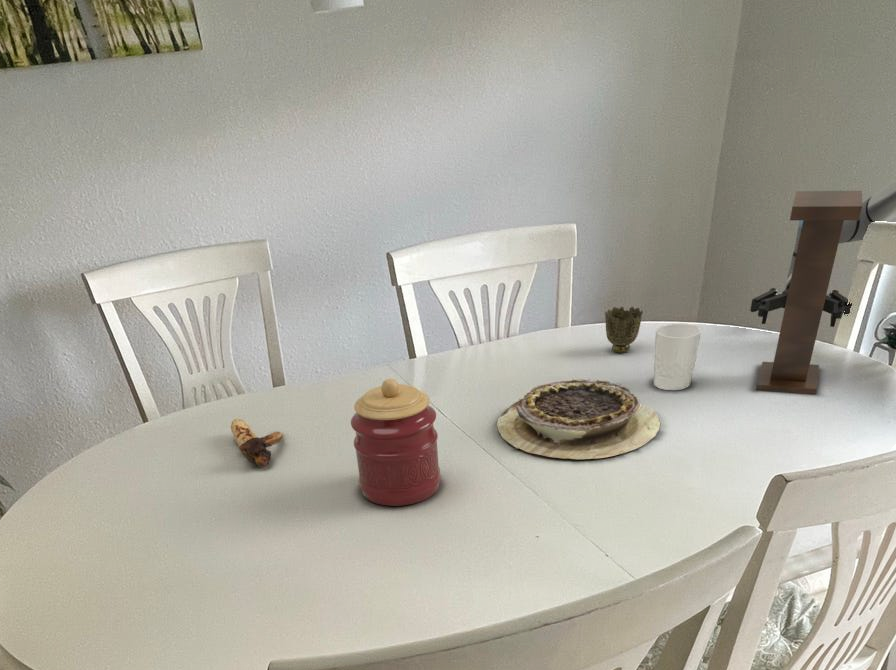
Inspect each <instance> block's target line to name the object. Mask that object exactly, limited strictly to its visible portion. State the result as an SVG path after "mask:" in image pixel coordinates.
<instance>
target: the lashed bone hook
mask: <svg viewBox="0 0 896 670" xmlns="http://www.w3.org/2000/svg"><path fill="white" fill-rule="evenodd" d="M230 431H231V433H232V435H233V438H234V440H235V442H236V444H237V445H238V449H239V451H241V452H242V453H243V454H244V455H245V456H246V457H247V459H248V460H250V461H251V462H253V463H254V464H255V465H256V466H258V467H261V468H263V467H267V466H268V465H270V461H271V456H272V451H271V450H268V449H267V448H268V447H269V448H270V447H272V446H273V445H276V444H278V443H279V442H280V441H281V440H282V438H283V433H282V432H280V431H274V432H273V433H272V434H268V435H265V436H262V437H257V435H256V434H255V433H254V431H253V430H252V429H251V427H250V426H249V424H247V423H246V422H245V421H244V420H243V419H241V418H235V419H233V420H232V421H231V424H230Z"/></svg>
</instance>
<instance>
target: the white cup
mask: <svg viewBox="0 0 896 670" xmlns="http://www.w3.org/2000/svg"><path fill="white" fill-rule="evenodd" d="M701 335H702V328H700V327H699V326H697V325H694V324H691V323H668V324H663V325H661V326H658V327H657V328H656V330H655V340H654V341H655V342H654V358H653V381H652V382H653V385H654V387H655V388H658V389H660V390H665V391H680V390H684V389H687V388H689V387H690V385H691V384H692V379H693V372H694V369H695V365H696V361H697V356H698V352H699V351H698V350H699V345H700V339H701Z"/></svg>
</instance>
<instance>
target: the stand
mask: <svg viewBox="0 0 896 670" xmlns="http://www.w3.org/2000/svg"><path fill="white" fill-rule="evenodd" d="M862 203H863V190H810V191H809V190H807V191H806V190H799V191H798V190H797V191H796V192H795V195H794V200H793V203H792V207H791V210H790V211H791V212H790V217H789V221H799V220H803V224H802V229H801V234H800V238H799V243H798V248H797V253H796V258H795V262H794V267H793V272H792V277H791V282H790V286H789V291H788V296H787V301H786V306H785V308H784V311H783V315H782V320H781V325H780V331H779V336H778V340H777V345H776V349H775V354H774V359H773V361H762V362H761V367H760V371H759V375H758V379H757V383H756V384H757V385H756V388H755V390H756V391H763V392H765V391H766V392H777V393H791V394H805V395H806V394H807V395H817V391H818V384H819V373H820V372H819V371H820V364H811V361H812V357H813V353H814V349H815V344H816V339H817V336H818V331H819V328H820V323H821V319H822V314H823V312H824V311H823V307H824V302H825V298H826V294H828V290H829V285H830V282H831V281H830V280H831V277H832V273H833V269H834V264H835V260H836V256H837V252H838V247H839V239H840V235H841V231H842V227H843V223H844V220H859V218H860V214H861V210H862Z"/></svg>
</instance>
